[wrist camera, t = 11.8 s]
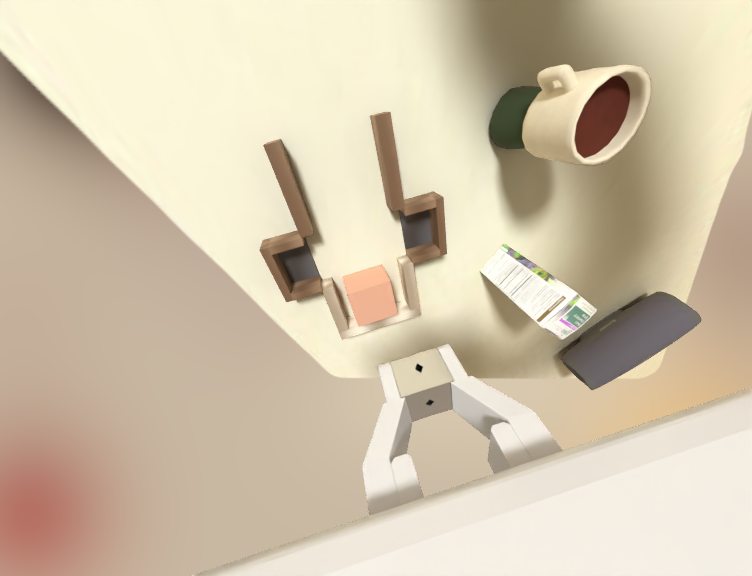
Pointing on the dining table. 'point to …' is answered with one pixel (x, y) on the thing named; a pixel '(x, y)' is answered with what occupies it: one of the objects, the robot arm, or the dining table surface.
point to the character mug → (574, 113)
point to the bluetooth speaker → (629, 338)
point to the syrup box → (538, 293)
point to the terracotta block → (370, 295)
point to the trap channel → (291, 250)
